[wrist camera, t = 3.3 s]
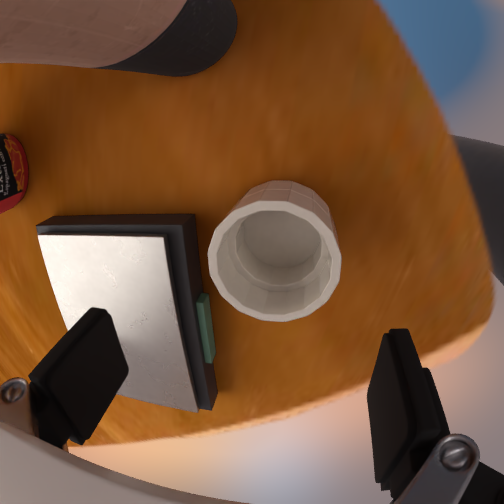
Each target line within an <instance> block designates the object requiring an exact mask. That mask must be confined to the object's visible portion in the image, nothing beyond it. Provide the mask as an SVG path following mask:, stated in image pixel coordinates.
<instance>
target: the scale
mask: <svg viewBox="0 0 504 504" xmlns="http://www.w3.org/2000/svg"><path fill="white" fill-rule="evenodd" d="M36 228H37V233H38V234H40V233H42V232H65V233H144V234H167V237H168V245H169V252H170V259H171V265H172V272H173V278H174V284H175V290H176V296H177V302H178V307H179V313H180V318H181V324H182V329H183V334H184V339H185V344H186V349H187V354H188V358H189V363H190V368H191V372H192V377H193V381H194V386H195V390H196V394H197V398H198V402H199V407H200V409H205V410H212V408H213V405H214V403H215V400H216V397H217V394H218V391H217V385H216V379H215V373H214V366H213V359H214V357H215V354H216V349H215V341H214V334H213V326H212V318H211V310H210V302H209V294H208V293H203V287H202V278H201V270H200V261H199V252H198V243H197V233H196V223H195V214H118V215H79V216H53V217H51V218H49V219H47V220H45V221H43V222H41V223H40V224H38V225H36Z"/></svg>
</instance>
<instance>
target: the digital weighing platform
mask: <svg viewBox="0 0 504 504" xmlns="http://www.w3.org/2000/svg"><path fill="white" fill-rule="evenodd" d="M38 239H39V243H40V247H41V251H42V254H43V258H44V262H45V265H46V268H47V272H48V275H49V278H50V282H51V285H52V288H53V291H54V294H55V297H56V300H57V303H58V306H59V308H60V311H61V314H62V317H63V319H64V322H65V324H66V327H67V330H68V331H69V330H70V329H71V327H72V326H73V325H74V324H75V323H76V322H77V321H78V320H79V319H80V318H81V317H82V316H83V315H84V314H85V313H86V312H87V311H88V310H89V309H90V308H91V307H96V308H102V309H106V310H107V311H108V313H109V314H110V315H111V317H112V319H113V323H114V326H115V329H116V332H117V335H118V338H119V341H120V344H121V347H122V350H123V353H124V356H125V358H126V361H127V364H128V367H129V373H128V376H127V377H126V379H125V381H124V382H123V384H122V386H121V387H120V389H119V390H118V392H117V394H118V395H122V396H126V397H129V398H133V399H137V400H141V401H145V402H149V403H154V404H158V405H162V406H167V407H172V408H176V409H181V410H186V411H192V412H197V413H198V412H199V409H200V407H199V402H198V398H197V394H196V390H195V386H194V381H193V377H192V372H191V368H190V363H189V358H188V354H187V349H186V344H185V339H184V334H183V329H182V324H181V318H180V313H179V307H178V302H177V296H176V290H175V284H174V278H173V272H172V265H171V259H170V252H169V245H168V237H167V234H144V233H65V232H42V233H40V234H38Z"/></svg>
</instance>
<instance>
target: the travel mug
mask: <svg viewBox="0 0 504 504" xmlns="http://www.w3.org/2000/svg"><path fill="white" fill-rule="evenodd" d="M236 29H237V15H236V11H235V8H234V5H233V3H232V1H231V0H0V63H34V64H52V65H65V66H75V67H85V68H98V69H112V70H123V71H132V72H141V73H149V74H157V75H165V76H188V75H192V74H196V73H198V72H201V71H203V70H205V69H207V68H209V67H210V66H212V65H213V64H215V63H216V62H217V61H218V60H219V59H220V58H221V57H222V56H223V55H224V54H225V53H226V51H227V50H228V49H229V47H230V45H231V44H232V42H233V39H234V37H235V33H236Z"/></svg>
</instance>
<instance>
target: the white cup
mask: <svg viewBox="0 0 504 504" xmlns="http://www.w3.org/2000/svg"><path fill="white" fill-rule="evenodd" d="M341 260H342V257H341V251H340V246H339V242H338V237H337V232H336V228H335V223H334V221H333V218H332V215H331V212H330V210H329V207H328V206H327V204H326V203H325V202H324V201H323V200H322V199H321V198H320V197H319V196H318V195H317V194H316V193H315V191H312V189H310V188H308V187H305V186H303V185H301V184H298V183H296V182H294V181H293V182H292V181H268V182H266V183H263V184H261V185H258V186H256V187H253V188H252V189H250V190H249V191H248V192H247V193H246V194H245V195H244V196H243V197H242V198H241V199H240V200H239V201H238V202H237V203H236V204H235V205H234V207H233V208H232V209H231V210H230V211H229V213H228V214H227V215H226V216H225V218H224V219H223V220H222V221H221V223H220V224H219V225H218V226H217V227H216V229H215V231H214V234H213V237H212V240H211V243H210V246H209V249H208V262H209V271H210V276H211V278H212V280H213V282H214V284H215V285H216V287H217V289H218V291H219V293H220V295H221V296H222V297H223V298H224V299H225V300H227V301H228V302H229V303H230V304H231V305H232V306H233V307H235V308H236V309H237V310H238V311H240V312H242V313H244V314H247V315H249V316H252V317H254V318H257V319H259V320H263V321H279V322H285V321H286V322H287V321H290V320H294V319H298V318H301V317H305V316H308V315H310V314H311V313H312V312H314V311H315V310H317V309H318V308H319V307H321V306H322V305H323V304H325V303H326V302H327V301H328V300H329V298H330V296H331V295H332V293H333V291H334V289H335V288H336V286H337V284H338V283H339V280H340V270H341Z"/></svg>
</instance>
